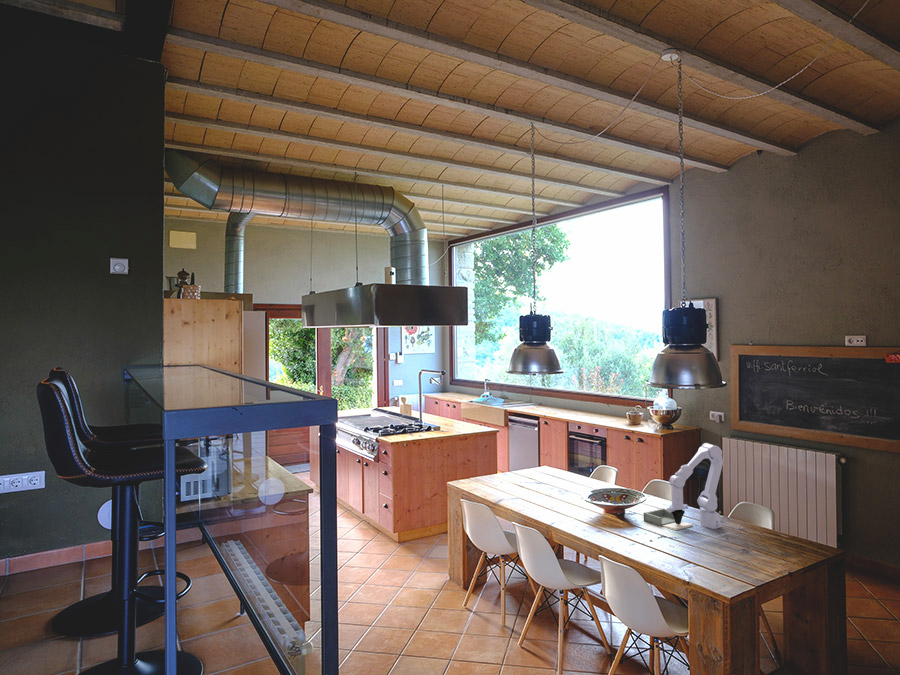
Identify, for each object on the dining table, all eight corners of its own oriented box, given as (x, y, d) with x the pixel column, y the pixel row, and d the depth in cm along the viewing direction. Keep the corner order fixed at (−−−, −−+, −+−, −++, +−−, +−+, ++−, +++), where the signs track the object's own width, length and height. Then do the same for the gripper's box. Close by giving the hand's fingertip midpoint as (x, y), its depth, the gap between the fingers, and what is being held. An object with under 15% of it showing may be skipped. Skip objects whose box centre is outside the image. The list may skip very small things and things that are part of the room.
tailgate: (693, 525, 289) (693, 524, 289) (675, 530, 282) (675, 528, 283) (679, 522, 297) (679, 521, 297) (662, 527, 290) (662, 525, 290)
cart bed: (680, 522, 297) (680, 513, 298) (660, 527, 290) (660, 518, 290) (663, 517, 307) (663, 508, 307) (643, 521, 299) (643, 512, 300)
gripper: (679, 494, 297) (680, 519, 296) (661, 498, 290) (662, 524, 289) (691, 497, 291) (692, 523, 290) (673, 501, 284) (673, 527, 283)
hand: (678, 523), depth 289 cm, fingers closed
